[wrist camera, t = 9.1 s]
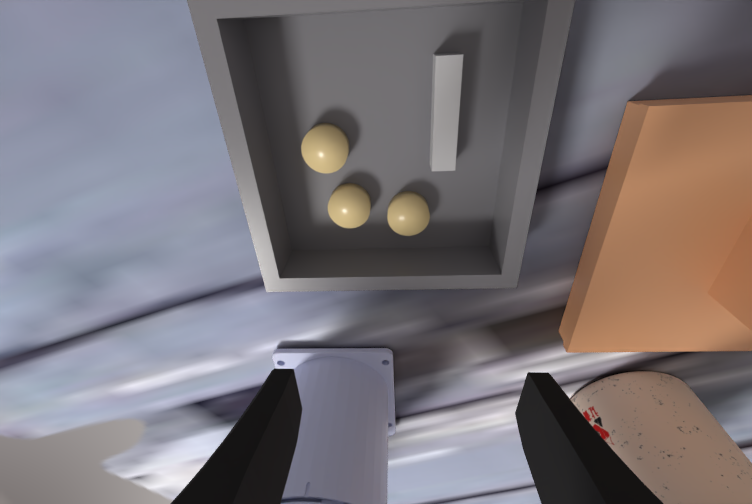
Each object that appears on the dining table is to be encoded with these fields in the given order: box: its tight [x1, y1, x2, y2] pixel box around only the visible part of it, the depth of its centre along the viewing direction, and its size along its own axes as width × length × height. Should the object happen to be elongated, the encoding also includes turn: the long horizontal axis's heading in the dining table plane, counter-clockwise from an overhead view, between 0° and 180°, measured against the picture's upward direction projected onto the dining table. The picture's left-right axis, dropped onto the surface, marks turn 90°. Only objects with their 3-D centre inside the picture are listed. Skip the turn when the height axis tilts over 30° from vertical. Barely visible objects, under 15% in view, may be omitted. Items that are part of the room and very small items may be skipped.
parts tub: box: [187, 0, 575, 292], centre depth 15 cm, size 12×12×3 cm
